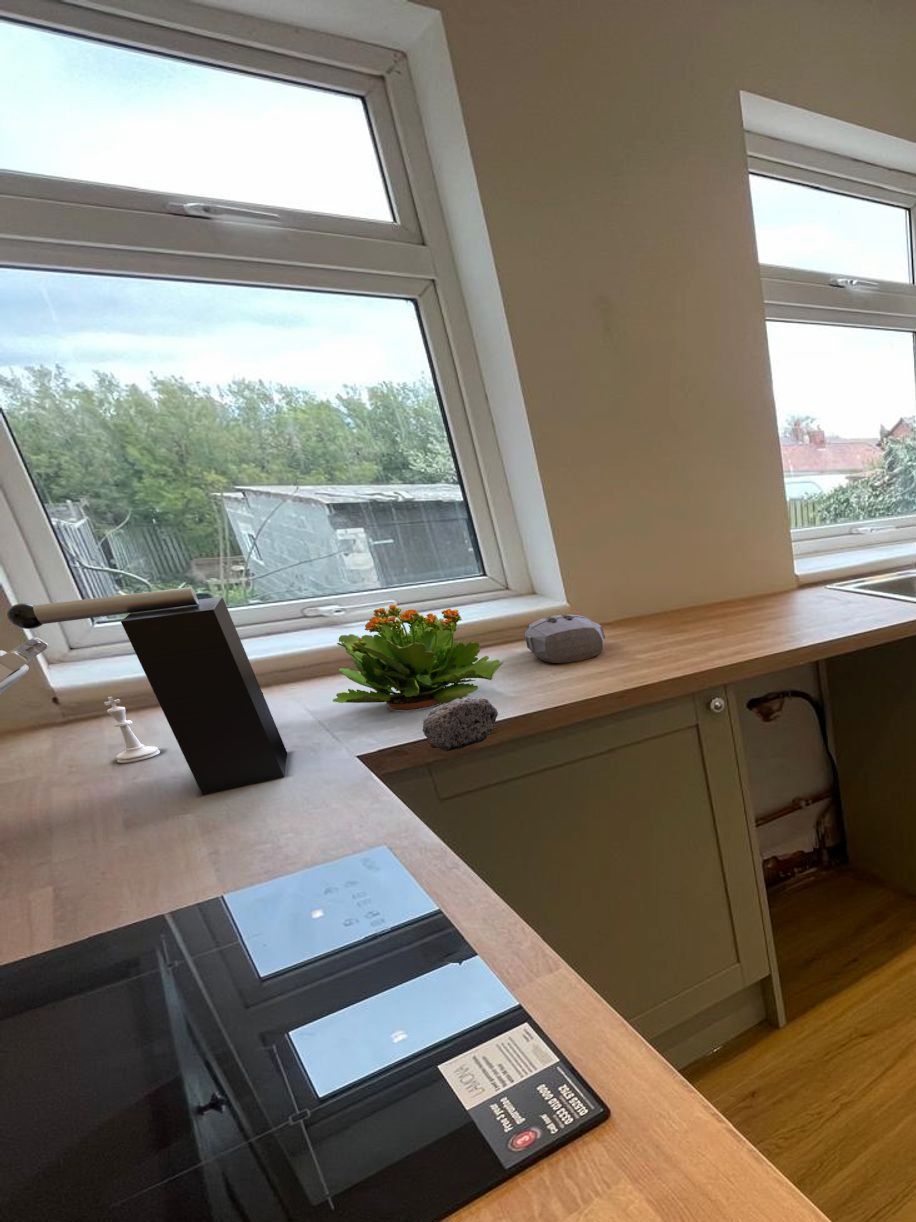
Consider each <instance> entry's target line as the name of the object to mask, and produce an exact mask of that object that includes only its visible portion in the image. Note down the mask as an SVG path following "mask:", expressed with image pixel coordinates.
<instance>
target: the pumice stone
mask: <svg viewBox="0 0 916 1222" xmlns="http://www.w3.org/2000/svg"><path fill="white" fill-rule="evenodd" d="M498 715H499V711H498V710H497V708H496V707H495V706H494V705H493V704H492V703H491V701H490V700H488V699H487V698H486V697H467V698H465V697H464V698H463V699H458V698H457V699H455V700H453V701H451V702H448V703H444V704H443V705H442V704H438V705H437V706H436V707H434V708H432V709H430V711H429V713H428V714H427V716H426V717H425V718H424V719H423V721H422V732H423V734H424V736H425V737H426V739H427V740H428V742H431V743H432V744H433V746H435V748H437V749H440V750H442V751H444V752H451V751H455V750H460V749H463V748H465V747H469V746H472V745H474V744H479V743H482V742H484V741H485V740H487V738H488V736H489V735H491V732H492V730H493V728H494V726H495V724H496V720H497V717H498Z"/></svg>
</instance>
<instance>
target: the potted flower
mask: <svg viewBox="0 0 916 1222" xmlns="http://www.w3.org/2000/svg"><path fill="white" fill-rule="evenodd" d="M373 612H374V613H373V616H372V618H370V619H369V621H367V622H366V623H365V625H364V627H365V628H364V631H368V632H369V633H370V634H371V633H375V632H376V633H377V634H373V635H369V634H364V635H362V636H361V637H360V636H358V635H355V634H353V633H350V634H348V635H346V634H342V635H339V637H338V642H336V644H337V645H338V646H341V647H343V648H345V652H346V653H347V654H348V655H350V656H351V660H352V662H353V664H354V665H355V666H356V669H357V670H352V669H351V668H343V667H342V668H338V671H339V672H340V673H341V674H342V675H344V676H346V678H347V679H349V680H350V681H352V682H355V683H356V684H358V685H360V686H364V687H366V688H370V689H372V690H369V691H366V690H361V689H356V690H354V689H351V688H347V692H345V691H343V692H338V693H336V694H335V696H336V697H335V698H332V702H333V703H340V704H343V703H347V704H348V703H349V704H350V703H355V704H363V703H366V704H367V703H369V704H372V703H373V704H374V703H375V704H377V703H379V704H380V703H386V705H387V706H388V708H390V710H391V711H398V712H403V711H405V712H407V711H416V710H422V709H428V708H432V707H435V706H436V707H437V706H439V705H443V704H444V703H448V702H451V701H453V700H455V699H457V698H458V699H464V698H465V697H467V696H469V694H472V693H474V692H476V691H478V689H479V685H478V684H477V685H476V684H475V685H474V683H471V684H470V683H469V682H475V681H476V679H483V680H487V681H488V680H489V681H492V680H493V676H494V675H495V673H496V672H497V670H498V669H499V668H500V667H501V666H502V665H503V664H504V661H501V660H500V659H495V660H489V659H490V657H489V656H488V655H484V656H483V657H481V658H480V659H479V658H478V657H477V656H478V655H479V653H480V652H481V649H480V648H481V644H480V643H479V642H472V641H469V642H468V643H467V644H465V643H464V642H460V639H458V640H457V642H456V641H455V637H454V636H455V635H454V634H455V632H457V630H458V628H457V627H458V622H459V621H460V622H461V621H462V620H463V618H462V616H461V614H460V612H459V609H452V608H446V609H445V610H442V611H441V615H442V618H438V616H437V615H436V614H433V613H432V612H431V613H428V614H426V616H424V615H423V614H420V613H419V611H417V609H408V610H405V611H403V612H402V608H399V607H397V604H389V605H388V609H387V610H386V609H385V607H380V608H375V609H374V610H373ZM405 624H408V628H409V630H408V631H407V628H406V626H405ZM408 632H409V633H408ZM393 688H394V689H395V690H393ZM373 690H374V691H373Z"/></svg>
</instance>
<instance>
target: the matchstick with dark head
mask: <svg viewBox="0 0 916 1222" xmlns="http://www.w3.org/2000/svg"><path fill="white" fill-rule="evenodd" d="M198 600H199V598H198V596H197V593H196V591H195V589H194V588H193V587H192V586H189V587H181V588H171V589H164V590H155V591H146V592H137V593H129V594H119V595H112V596H102V597H95V598H94V597H93V598H85V599H84V598H83V599H77V600H68V601H59V602H50V603H42V604H41V603H40V604H33V603H25V602H24V603H16V604H14V605H11V606H9V608H8V609H7V611H6V619H7V621H8V622H9V623H11V625H13V626H14V627H17V628H19V629H25V630H34V629H37V628H39V627H41V626H43V625H48V624H54V623H63V622H71V621H78V620H87V619H95V618H103V617H110V616H111V617H112V616H118V615H128V614H130V613H135V612H143V611H151V610H159V609H167V608H175V607H183V606H191V605H198V604H199V602H198Z"/></svg>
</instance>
